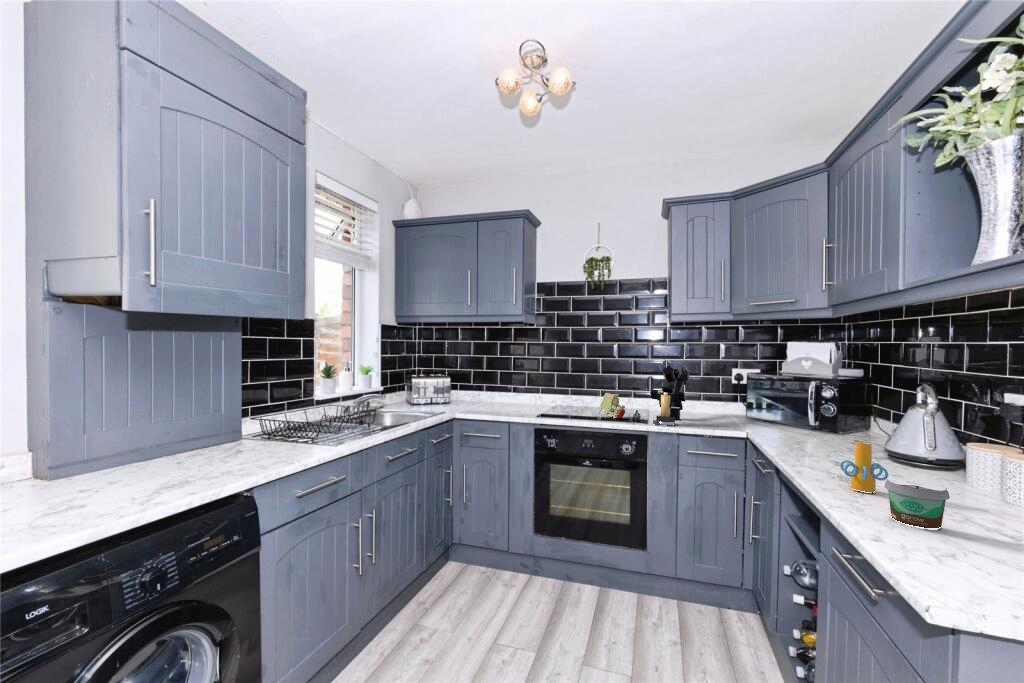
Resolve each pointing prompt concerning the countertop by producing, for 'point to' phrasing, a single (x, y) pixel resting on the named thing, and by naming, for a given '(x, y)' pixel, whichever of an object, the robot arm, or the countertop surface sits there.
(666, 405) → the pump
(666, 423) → the motor
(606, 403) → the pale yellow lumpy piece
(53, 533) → the countertop surface
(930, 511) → the food container
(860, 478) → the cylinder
